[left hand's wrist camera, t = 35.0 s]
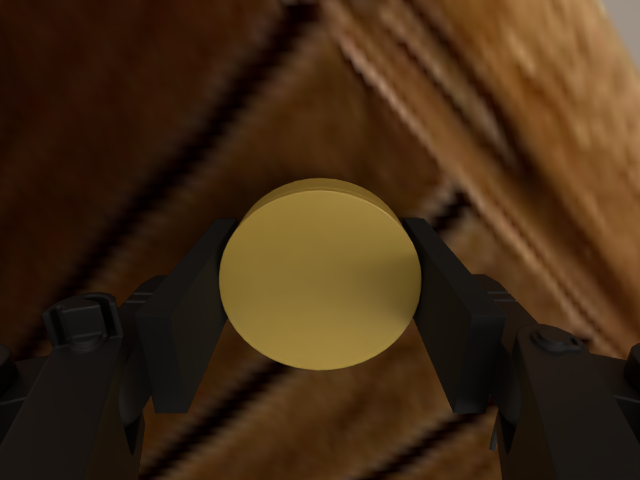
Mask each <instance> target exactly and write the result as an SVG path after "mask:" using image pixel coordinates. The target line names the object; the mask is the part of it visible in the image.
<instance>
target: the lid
mask: <svg viewBox="0 0 640 480" xmlns="http://www.w3.org/2000/svg"><path fill="white" fill-rule="evenodd" d="M421 283H422V277H421V267H420V263H419V258H418V255H417V252H416V250H415V247H414V245H413V243H412V241H411V240H410V238H409V236H408V235H407V233H406V231H405V230H404V228H403V226H402V225H401V223H400V222H399V220H398V218H397V217H396V215H395V214H394V213H393V212H392V210H391V209H390V208H389V207H388V206H387V205H386V204H385V203H384V202H383V201H382V200H381V199H380V198H378V197H377V196H375V195H374V194H373V193H371V192H370V191H368V190H366V189H364V188H362V187H360V186H357V185H355V184H352V183H349V182H346V181H341V180H336V179H327V178H313V179H305V180H299V181H295V182H292V183H289V184H286V185H283V186H281V187H279V188H277V189H275V190H273V191H271V192H270V193H268V194H267V195H265V196H264V197H262V198H261V199H260V200H259V201H258V202H257V203H255V204H254V205H253V206H252V208H251V209H250V210H249V211H248V212H247V213H246V215H245V216H244V218H243V219H242V221H241V222H240V224H239V226H238V227H237V229H236V230H235V232H234V233H233V235H232V236H231V238H230V239H229V241H228V243H227V246H226V248H225V250H224V252H223V256H222V259H221V263H220V270H219V290H220V296H221V300H222V303H223V306H224V309H225V312H226V314H227V316H228V318H229V320H230V322H231V323H232V325H233V326H234V328H235V329H236V331H237V332H238V333H239V334H240V335H241V336H242V338H243V339H244V340H245V341H246V342H248V343H249V344H250V345H251V346H252V347H253V348H255V349H256V350H258V351H259V352H260V353H262V354H264V355H265V356H267V357H269V358H271V359H273V360H275V361H278V362H280V363H283V364H286V365H289V366H293V367H297V368H302V369H310V370H332V369H339V368H345V367H349V366H353V365H356V364H358V363H361V362H364V361H366V360H368V359H370V358H372V357H374V356H376V355H378V354H379V353H381V352H382V351H384V350H385V349H386V348H388V347H389V346H390V345H391V344H392V343H394V342H395V341H396V340H397V339H398V337H399V336H400V335H401V334H402V333H403V332H404V330H405V329H406V327H407V326H408V325H409V323H410V321H411V319H412V317H413V316H414V314H415V311H416V308H417V305H418V303H419V298H420V293H421Z"/></svg>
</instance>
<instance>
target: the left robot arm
mask: <svg viewBox="0 0 640 480" xmlns="http://www.w3.org/2000/svg"><path fill="white" fill-rule="evenodd" d="M237 227H238V226H237V219H216V220H215V221H214V222H213V224H212V225H211V226H210V227H209V228H208V229H207V231H206V232H205V233H204V234H203V235H202V237H201V238H200V239H199V240H198V241H197V242H196V244H195V245H194V246H193V247H192V248H191V249H190V251H189V252H188V253H187V254H186V255H185V256H184V258H183V259H182V260H181V261H180V262H179V263H178V265H177V266H176V267H175V268H174V269H173V270H172V272H171V273H170V274H169V275H168V276H155V277H153V278H151V279H149V280H148V281H146V282H144V283H142V284H141V285H140V286H139V287H138V288H137V289H136V290H135V292H134V293H133V295H131V296H130V297H129V298H128V299H127V300H126V301H125V303H123V304H122V305H121V306H120V307H119V308H118V307H117V303H116V299H115V297H114V296H112V295H111V294H108V293H101V292H96V293H85V294H81V295H76V296H72V297H70V298H67V299H64V300H61V301H59V302H57V303H56V304H54V305H52V306H50V307H49V308H48V309H47V310H46V311H45V312H43V313H42V317H43V320H44V323H45V326H46V329H47V332H48V335H49V338H50V341H51V344H52V347H53V349H52V351H51V353H50V355H47V356H42V357H37V358H32V359H27V360H21V361H16V362H15V361H14V359H13V356H12V353H11V351H10V349H9V348H8V347H6V346H5V345H0V480H138V474H139V467H140V459H141V452H142V444H143V436H144V429H145V423H144V417H143V412H142V410H143V408H144V407H145V405H146V403H147V401H148V400H149V398H150V396H151V395H152V400H153V404H154V409H155V413H187V412H188V410H189V407H190V405H191V403H192V400H193V398H194V396H195V393H196V391H197V388H198V386H199V384H200V381H201V379H202V377H203V374H204V372H205V370H206V367H207V365H208V362H209V360H210V358H211V355H212V353H213V351H214V348H215V346H216V344H217V341H218V339H219V337H220V334H221V332H222V329H223V327H224V325H225V322H226V320H227V318H228V316H227V314H226V312H225V309H224V306H223V303H222V300H221V296H220V290H219V270H220V263H221V259H222V256H223V252H224V250H225V248H226V246H227V243H228V241H229V239H230V238H231V236H232V235H233V233H234V232H235V230H236V229H237ZM403 228H404V230H405V231H406V233H407V235H408V236H409V238H410V240H411V241H412V243H413V245H414V247H415V250H416V252H417V255H418V258H419V263H420V267H421V277H422V283H421V293H420V298H419V303H418V305H417V308H416V311H415V314H414V316H413V319H414V321H415V323H416V326H417V328H418V330H419V333H420V335H421V338H422V340H423V342H424V345H425V347H426V349H427V352H428V354H429V356H430V359H431V361H432V363H433V366H434V368H435V371H436V373H437V375H438V378H439V380H440V382H441V385H442V387H443V389H444V392H445V394H446V396H447V399H448V401H449V404H450V406H451V408H452V411H453V413H485V412H486V407H487V403H488V398H489V394H490V395H491V397H492V398H493V400H494V402H495V404H496V405H497V407H498V412H497V417H496V421H495V425H494V429H493V433H492V438H491V442H490V448H489V449H490V450H493V451H495V447H496V443H498V451H499V458H500V466H501V473H502V480H640V343H638V344H636V345H634V346H633V347H632V348H631V351H630V353H629V356H628V358H627V360H623V359H617V358H612V357H607V356H602V355H596V354H592V353H590V352H589V350H588V348H587V347H586V346H585V345H584V343H583V342H582V341H581V340H580V339H578V338H577V337H575V336H574V335H572V334H571V333H569V332H566V331H564V330H562V329H559V328H557V327H553V326H549V325H545V324H539V323H538V322H537V321H536V320H535V319H534V318H533V317H532V316H531V315H530V314H529V313H528V312H527V311H526V310H525V309H524V308H523V307H522V306H521V305H520V304H519V303H518V302H516V300H515V299H514V298H513V297H512V295H511V294H508V291H507V290H506V289H505V288H504V287H503V286H502V285H501V284H500V283H499V282H497V281H495V280H494V279H492V278H490V277H488V276H486V275H485V274H471V273H470V272H469V271H468V270H467V268H466V267H465V266H464V265H463V264H462V263H461V261H460V260H459V259H458V258H457V257H456V256H455V254H454V253H453V252H452V251H451V250H450V249H449V247H448V246H447V245H446V244H445V243H444V242H443V240H442V239H441V238H440V237H439V236H438V235H437V233H436V232H435V231H434V230H433V229H432V228H431V226H430V225H429V224H428V223H427V222H426V221H425V219H404V221H403Z"/></svg>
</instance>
